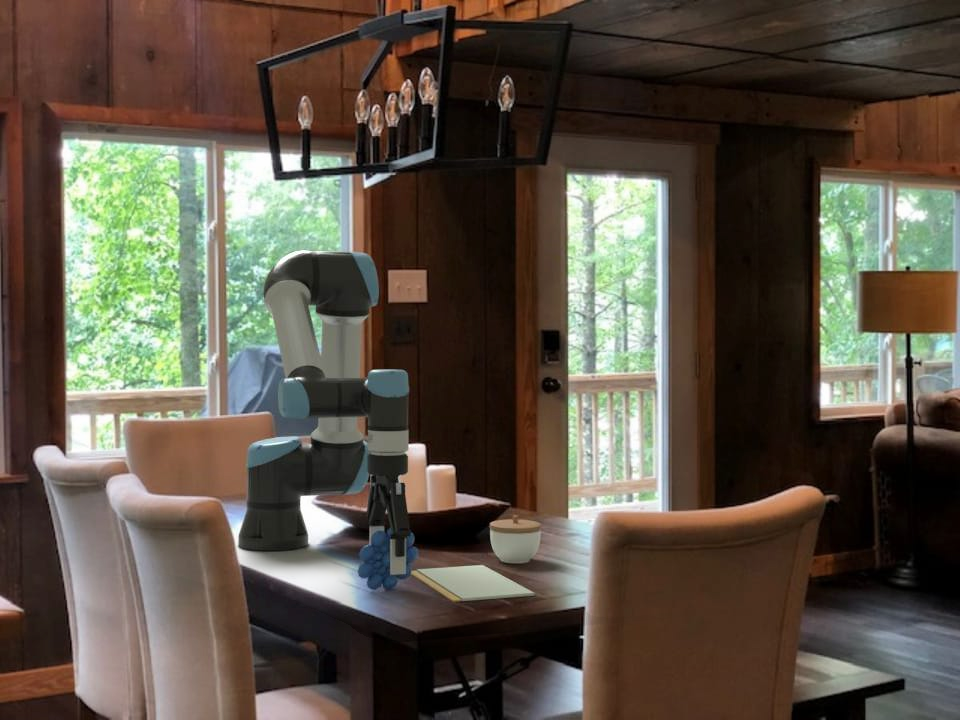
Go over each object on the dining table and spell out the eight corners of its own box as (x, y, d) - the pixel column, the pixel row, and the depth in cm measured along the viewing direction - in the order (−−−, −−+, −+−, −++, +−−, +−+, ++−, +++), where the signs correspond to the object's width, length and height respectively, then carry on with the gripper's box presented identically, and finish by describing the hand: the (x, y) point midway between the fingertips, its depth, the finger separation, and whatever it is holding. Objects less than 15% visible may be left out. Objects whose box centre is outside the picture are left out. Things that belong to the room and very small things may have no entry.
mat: (416, 571, 247) (416, 569, 247) (482, 567, 252) (482, 565, 252) (462, 601, 223) (462, 598, 223) (534, 595, 228) (534, 592, 228)
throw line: (408, 572, 247) (408, 571, 247) (415, 572, 247) (415, 570, 247) (453, 601, 222) (453, 600, 222) (460, 601, 223) (461, 599, 223)
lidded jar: (541, 566, 254) (542, 520, 254) (489, 565, 255) (489, 519, 254) (540, 555, 265) (540, 512, 265) (489, 555, 265) (490, 511, 265)
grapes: (410, 583, 237) (411, 520, 237) (422, 590, 231) (422, 526, 231) (351, 587, 233) (351, 523, 233) (361, 595, 227) (361, 529, 226)
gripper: (350, 446, 241) (349, 556, 242) (387, 460, 218) (387, 581, 219) (387, 445, 244) (386, 553, 245) (428, 459, 221) (427, 578, 221)
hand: (387, 567), depth 232 cm, fingers open, 13 cm apart
